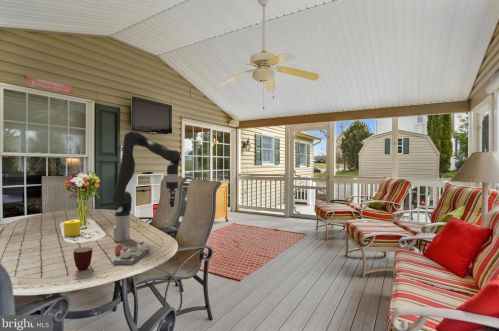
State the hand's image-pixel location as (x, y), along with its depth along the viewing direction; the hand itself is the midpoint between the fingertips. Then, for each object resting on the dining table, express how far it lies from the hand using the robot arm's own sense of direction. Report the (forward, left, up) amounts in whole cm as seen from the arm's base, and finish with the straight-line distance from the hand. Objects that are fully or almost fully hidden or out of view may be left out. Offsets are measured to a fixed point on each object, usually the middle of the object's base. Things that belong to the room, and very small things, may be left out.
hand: (171, 205), depth 180 cm
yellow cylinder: (-80, +20, -26) cm, 86 cm away
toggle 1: (-16, -29, -24) cm, 41 cm away
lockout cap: (-25, -19, -26) cm, 41 cm away
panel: (-15, -23, -26) cm, 38 cm away
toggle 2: (-12, -17, -24) cm, 32 cm away
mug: (-33, -41, -26) cm, 59 cm away
